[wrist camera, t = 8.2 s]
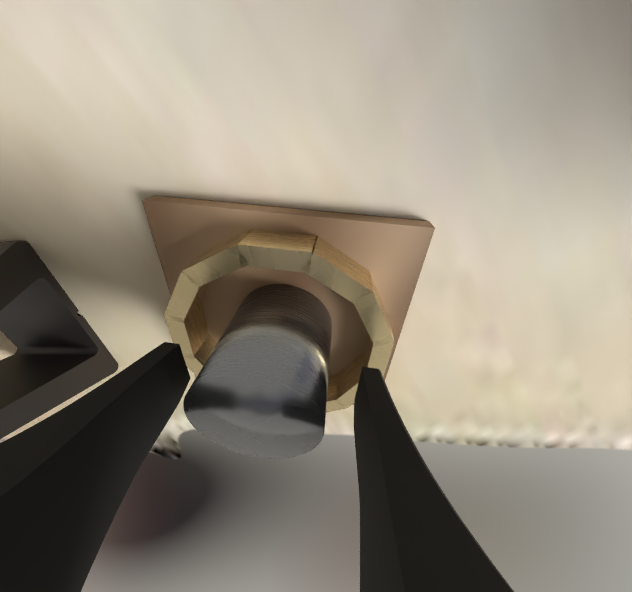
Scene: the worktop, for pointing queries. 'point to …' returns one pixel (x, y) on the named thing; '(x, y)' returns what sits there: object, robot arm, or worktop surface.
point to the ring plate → (289, 275)
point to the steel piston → (266, 376)
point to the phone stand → (42, 341)
